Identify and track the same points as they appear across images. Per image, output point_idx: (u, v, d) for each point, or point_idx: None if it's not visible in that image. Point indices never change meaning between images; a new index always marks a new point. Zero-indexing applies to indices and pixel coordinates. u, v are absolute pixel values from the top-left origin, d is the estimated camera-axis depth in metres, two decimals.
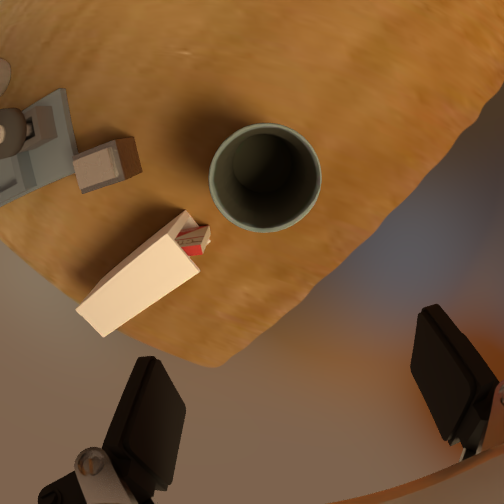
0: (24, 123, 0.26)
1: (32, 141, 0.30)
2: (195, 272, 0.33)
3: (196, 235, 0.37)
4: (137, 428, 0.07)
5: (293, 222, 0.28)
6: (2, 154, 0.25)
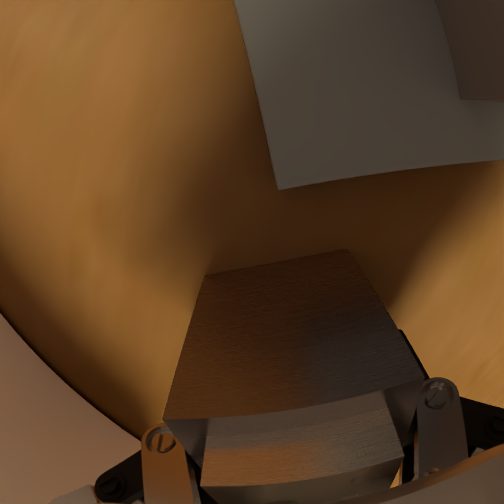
0: None
1: None
2: None
3: None
4: None
5: None
6: None
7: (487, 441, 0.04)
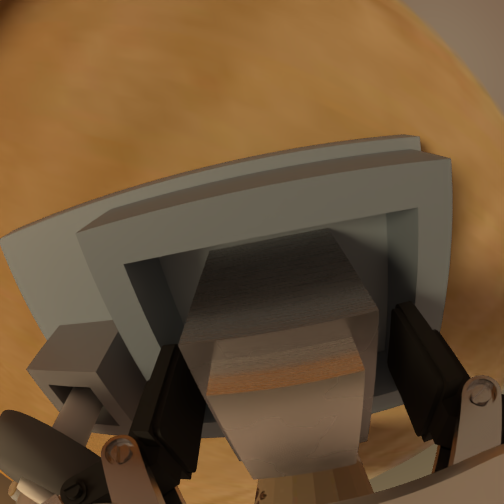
0: None
1: (52, 378, 0.11)
2: None
3: None
4: (166, 414, 0.07)
5: None
6: (7, 461, 0.06)
7: None
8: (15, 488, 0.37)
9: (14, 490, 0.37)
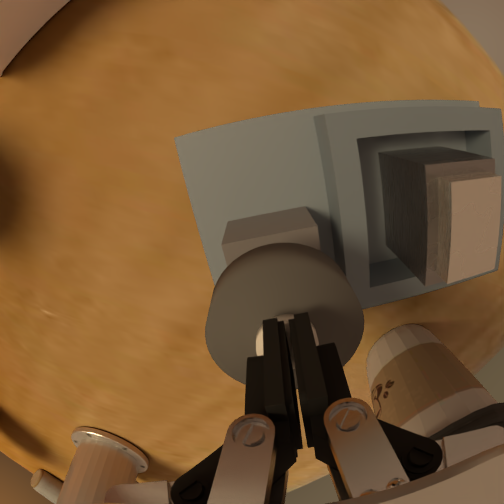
0: None
1: (256, 247, 0.16)
2: None
3: None
4: (291, 384, 0.08)
5: None
6: (283, 280, 0.11)
7: None
8: (39, 478, 0.42)
9: (38, 480, 0.41)
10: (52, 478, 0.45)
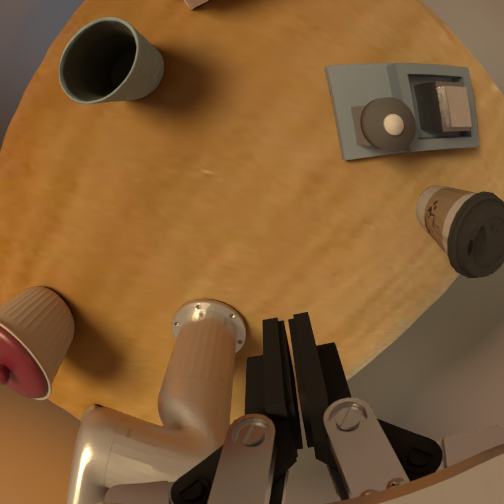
0: (361, 125, 0.31)
1: None
2: None
3: None
4: (291, 385, 0.08)
5: (77, 33, 0.21)
6: (390, 102, 0.28)
7: None
8: None
9: None
10: None
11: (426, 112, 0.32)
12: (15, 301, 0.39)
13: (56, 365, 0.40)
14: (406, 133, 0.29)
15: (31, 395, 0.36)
